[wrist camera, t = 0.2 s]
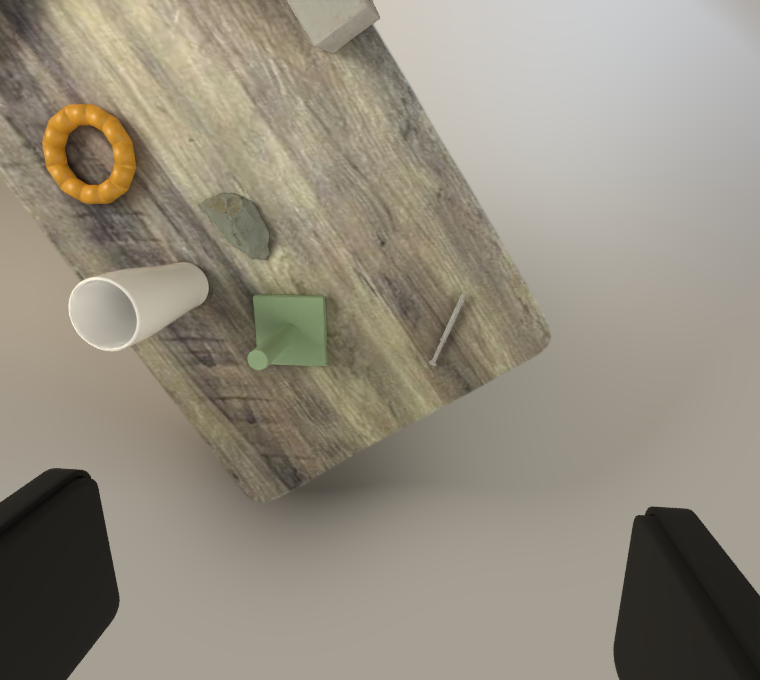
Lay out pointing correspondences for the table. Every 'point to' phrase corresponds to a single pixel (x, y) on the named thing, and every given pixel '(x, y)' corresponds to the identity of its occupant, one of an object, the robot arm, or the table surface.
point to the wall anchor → (448, 329)
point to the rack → (289, 331)
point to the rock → (239, 223)
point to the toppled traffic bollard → (334, 20)
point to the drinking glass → (134, 303)
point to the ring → (57, 157)
